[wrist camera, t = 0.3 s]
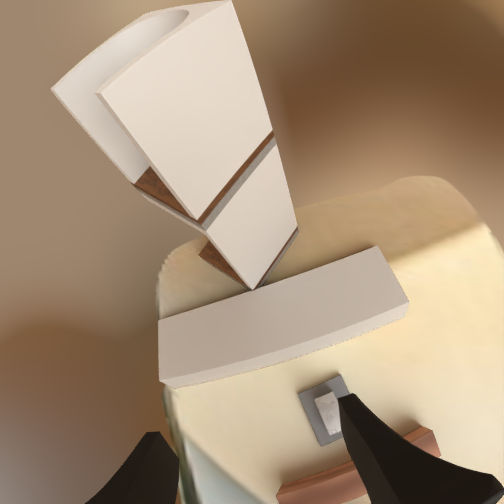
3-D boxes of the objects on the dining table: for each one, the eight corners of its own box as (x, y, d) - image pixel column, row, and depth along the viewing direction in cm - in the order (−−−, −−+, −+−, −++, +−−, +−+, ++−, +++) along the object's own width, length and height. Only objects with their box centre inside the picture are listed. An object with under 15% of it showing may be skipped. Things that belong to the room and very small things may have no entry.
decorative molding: (173, 333, 47) (176, 390, 40) (158, 320, 44) (159, 380, 37) (376, 265, 44) (404, 319, 37) (377, 245, 40) (409, 301, 33)
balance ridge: (363, 426, 32) (367, 430, 28) (321, 445, 32) (320, 451, 29) (340, 374, 36) (341, 373, 32) (298, 393, 36) (295, 395, 32)
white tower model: (245, 205, 50) (146, 12, 20) (298, 232, 46) (231, 0, 15) (203, 260, 48) (50, 89, 17) (256, 294, 43) (100, 93, 13)
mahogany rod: (429, 448, 28) (441, 455, 23) (291, 505, 29) (286, 519, 25) (420, 425, 30) (432, 430, 25) (282, 484, 31) (275, 496, 27)
